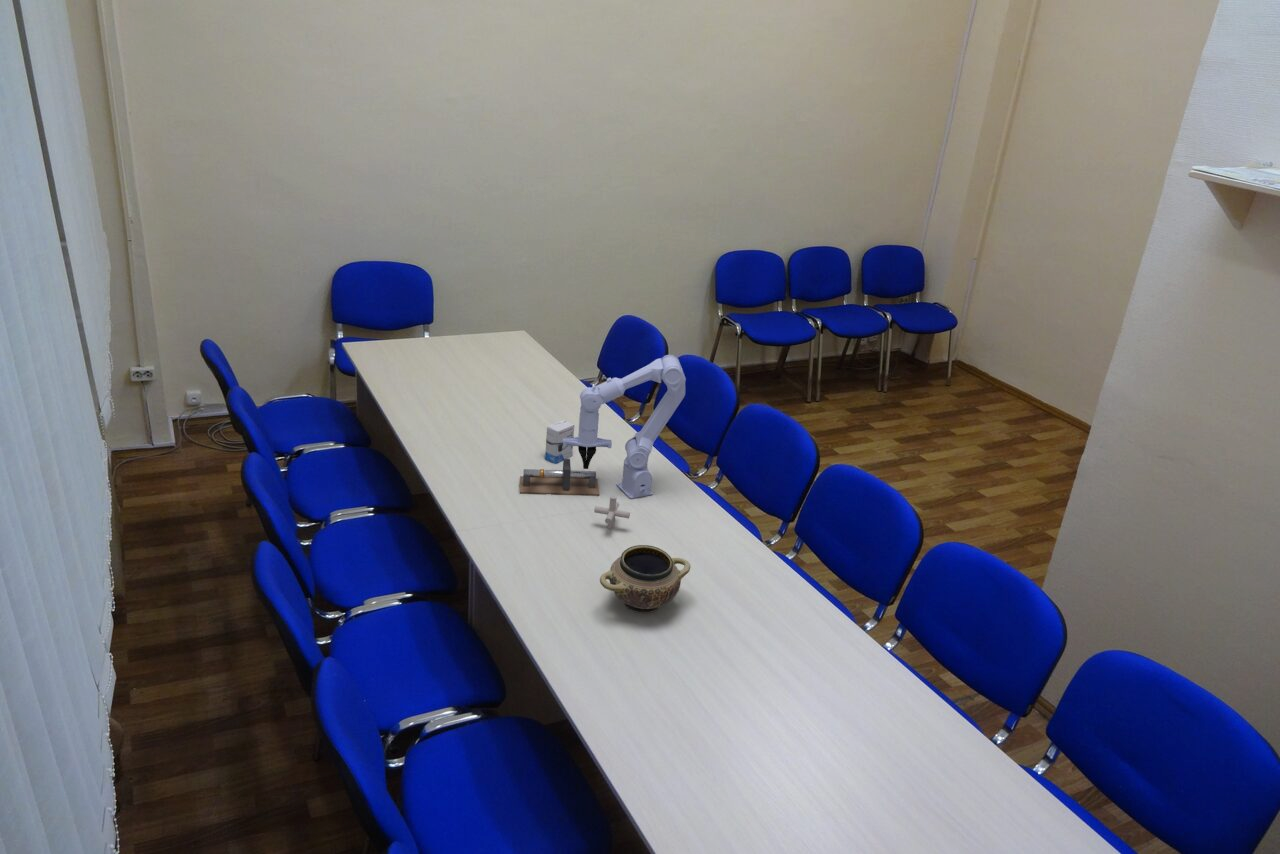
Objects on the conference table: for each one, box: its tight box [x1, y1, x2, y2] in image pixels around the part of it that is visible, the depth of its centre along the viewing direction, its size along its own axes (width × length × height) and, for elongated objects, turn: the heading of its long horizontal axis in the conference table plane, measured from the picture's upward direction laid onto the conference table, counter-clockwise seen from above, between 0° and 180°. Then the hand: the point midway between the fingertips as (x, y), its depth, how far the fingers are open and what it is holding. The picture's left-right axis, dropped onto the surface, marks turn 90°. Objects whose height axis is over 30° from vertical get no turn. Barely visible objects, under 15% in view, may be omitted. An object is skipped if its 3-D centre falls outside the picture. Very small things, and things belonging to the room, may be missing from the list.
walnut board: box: [519, 475, 600, 497], centre depth 283 cm, size 24×10×1 cm, turn 96°
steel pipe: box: [522, 468, 597, 488], centre depth 281 cm, size 22×3×5 cm, turn 96°
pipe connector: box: [593, 495, 631, 530], centre depth 262 cm, size 10×10×10 cm
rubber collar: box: [562, 458, 572, 490], centre depth 281 cm, size 2×7×7 cm, turn 6°
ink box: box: [544, 419, 575, 465], centre depth 298 cm, size 8×5×12 cm, turn 143°
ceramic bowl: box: [599, 544, 691, 614], centre depth 230 cm, size 24×18×15 cm
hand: (585, 467), depth 281 cm, fingers closed
